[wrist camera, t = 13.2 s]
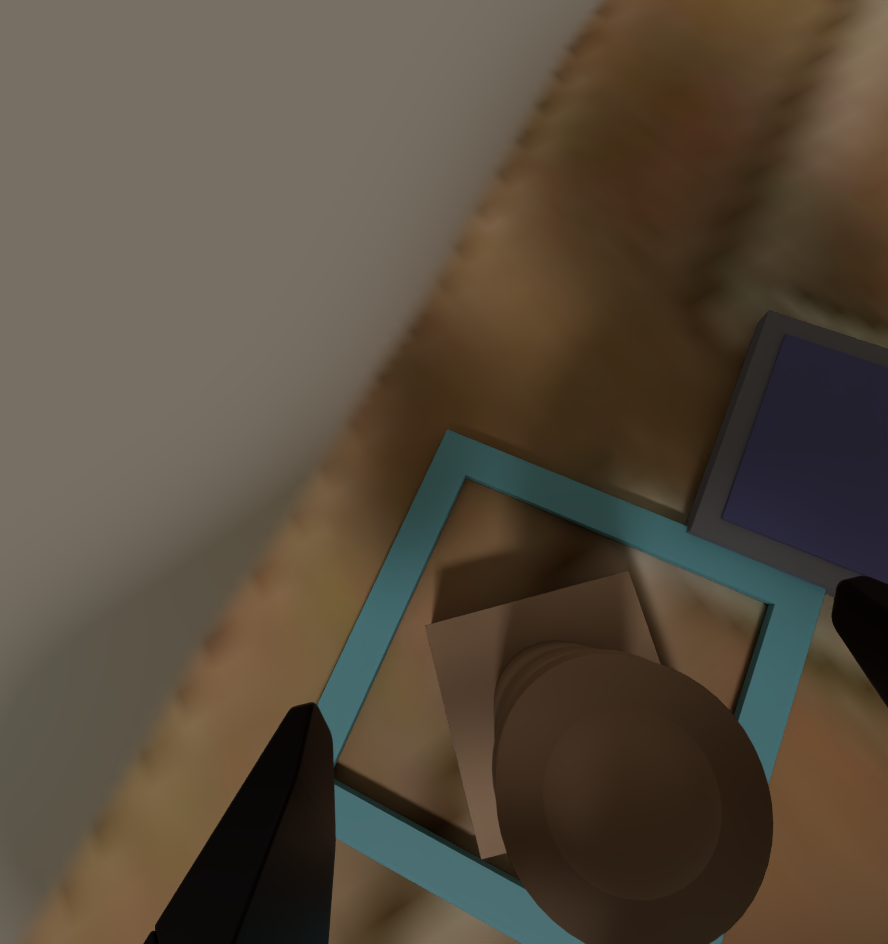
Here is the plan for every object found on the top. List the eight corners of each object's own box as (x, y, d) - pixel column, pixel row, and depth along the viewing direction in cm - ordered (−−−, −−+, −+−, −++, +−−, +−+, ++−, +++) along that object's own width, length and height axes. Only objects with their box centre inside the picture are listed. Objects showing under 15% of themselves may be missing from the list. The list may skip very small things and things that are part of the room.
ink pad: (953, 644, 16) (978, 646, 16) (681, 534, 18) (691, 530, 17) (1011, 406, 18) (1037, 395, 17) (758, 322, 19) (770, 308, 19)
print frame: (686, 1029, 15) (692, 1040, 14) (276, 797, 17) (271, 801, 16) (820, 584, 17) (828, 583, 17) (448, 433, 19) (447, 429, 19)
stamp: (685, 781, 16) (1003, 1041, 6) (482, 835, 16) (466, 1179, 6) (615, 575, 18) (776, 512, 8) (430, 625, 18) (353, 627, 8)
